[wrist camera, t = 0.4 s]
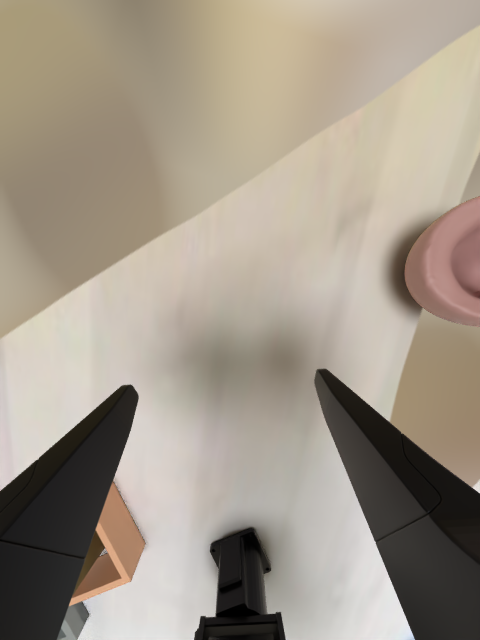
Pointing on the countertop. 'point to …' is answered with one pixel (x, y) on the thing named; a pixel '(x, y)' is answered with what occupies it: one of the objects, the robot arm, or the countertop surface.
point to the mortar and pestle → (448, 265)
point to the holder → (112, 550)
